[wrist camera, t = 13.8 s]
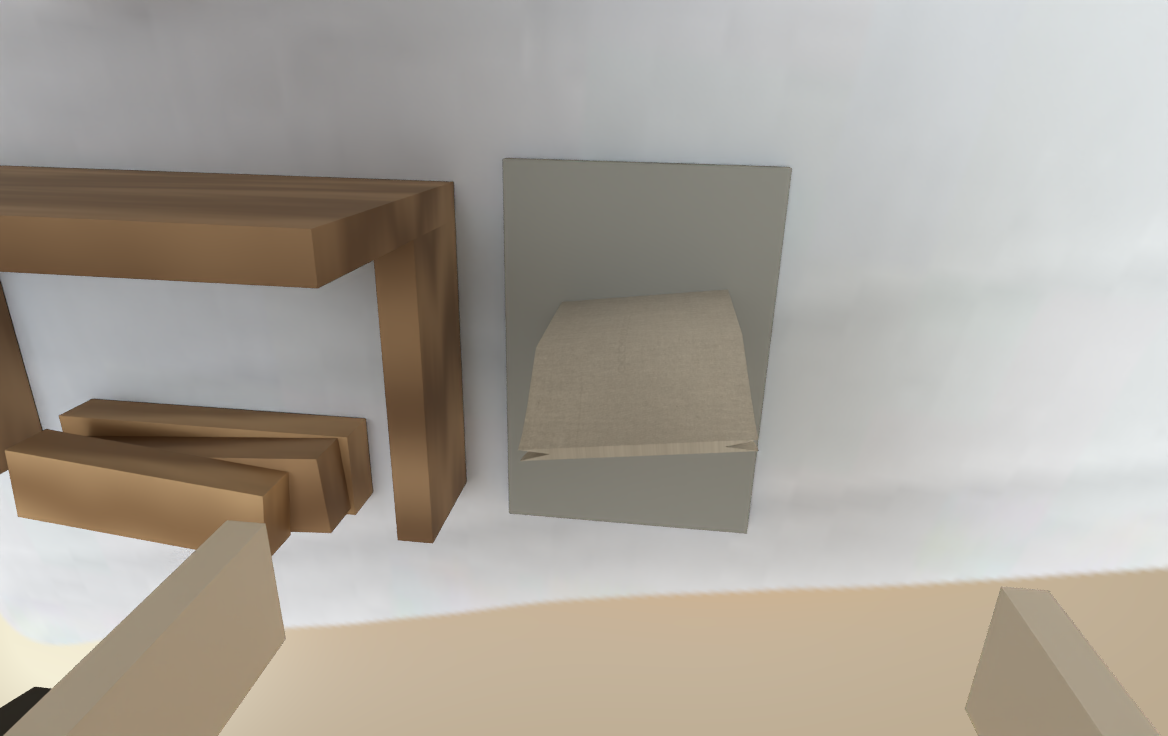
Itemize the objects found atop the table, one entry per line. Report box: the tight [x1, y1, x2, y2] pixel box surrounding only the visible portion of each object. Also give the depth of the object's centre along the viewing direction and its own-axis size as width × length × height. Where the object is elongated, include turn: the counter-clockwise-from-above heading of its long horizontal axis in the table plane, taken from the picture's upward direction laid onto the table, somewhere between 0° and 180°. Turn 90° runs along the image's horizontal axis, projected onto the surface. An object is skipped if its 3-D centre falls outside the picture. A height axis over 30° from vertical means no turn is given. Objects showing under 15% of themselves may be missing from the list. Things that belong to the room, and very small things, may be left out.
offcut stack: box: [5, 399, 373, 556], centre depth 31 cm, size 5×14×6 cm, turn 89°
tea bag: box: [518, 289, 758, 461], centre depth 24 cm, size 4×7×10 cm, turn 96°
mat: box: [503, 158, 792, 534], centre depth 30 cm, size 16×11×1 cm
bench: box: [0, 166, 466, 543], centre depth 26 cm, size 14×24×12 cm, turn 89°
